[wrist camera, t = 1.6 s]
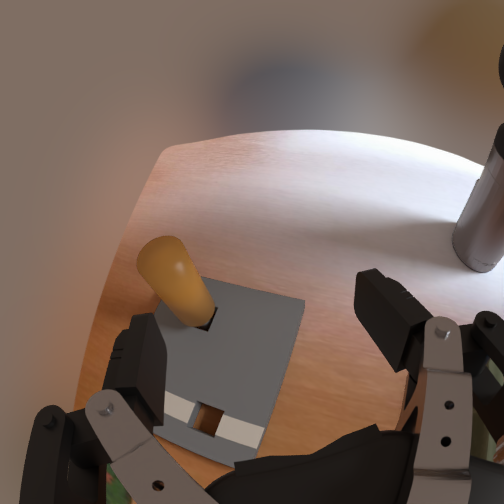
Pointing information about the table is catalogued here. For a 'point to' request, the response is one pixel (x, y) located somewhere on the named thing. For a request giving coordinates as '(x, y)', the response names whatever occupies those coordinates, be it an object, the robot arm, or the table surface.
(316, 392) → the table surface
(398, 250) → the table surface
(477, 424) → the handheld radio
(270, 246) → the table surface
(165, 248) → the orange and grey cylinder
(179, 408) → the board
